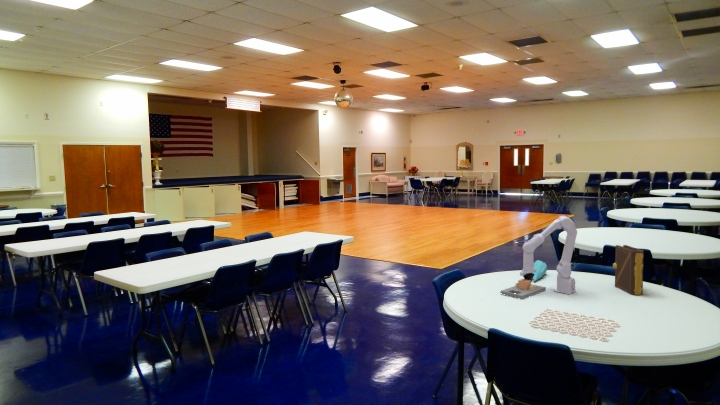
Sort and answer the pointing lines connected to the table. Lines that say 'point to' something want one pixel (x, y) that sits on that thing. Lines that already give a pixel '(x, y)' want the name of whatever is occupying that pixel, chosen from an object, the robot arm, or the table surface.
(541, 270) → the crystal
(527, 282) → the block
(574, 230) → the robot arm
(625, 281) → the book
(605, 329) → the honeycomb grid
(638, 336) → the table surface
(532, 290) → the plate
